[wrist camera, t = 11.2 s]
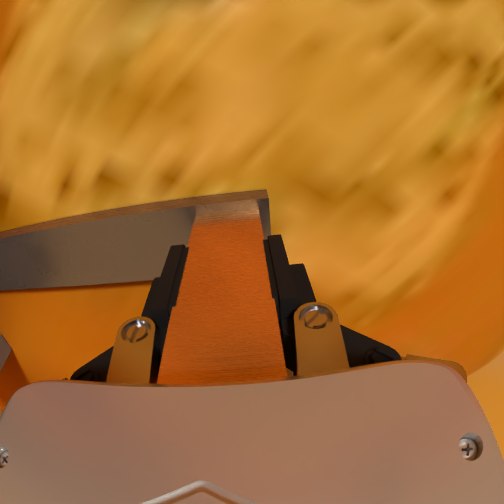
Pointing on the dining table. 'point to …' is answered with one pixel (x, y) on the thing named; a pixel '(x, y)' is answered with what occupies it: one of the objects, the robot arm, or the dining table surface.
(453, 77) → the dining table surface
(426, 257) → the dining table surface
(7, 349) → the grey bridge block
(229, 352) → the scraper
